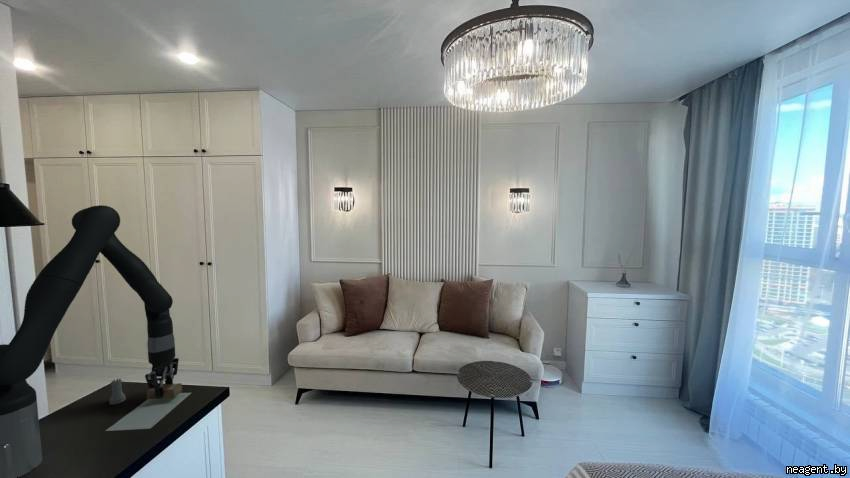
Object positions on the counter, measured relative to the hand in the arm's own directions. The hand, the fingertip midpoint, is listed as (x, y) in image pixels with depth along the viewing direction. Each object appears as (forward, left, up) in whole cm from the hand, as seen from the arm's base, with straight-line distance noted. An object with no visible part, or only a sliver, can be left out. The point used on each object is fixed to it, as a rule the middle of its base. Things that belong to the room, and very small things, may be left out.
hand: (164, 393), depth 119 cm
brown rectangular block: (0, 0, -1) cm, 1 cm away
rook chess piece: (+1, +16, -3) cm, 17 cm away
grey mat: (-6, 0, -3) cm, 7 cm away
